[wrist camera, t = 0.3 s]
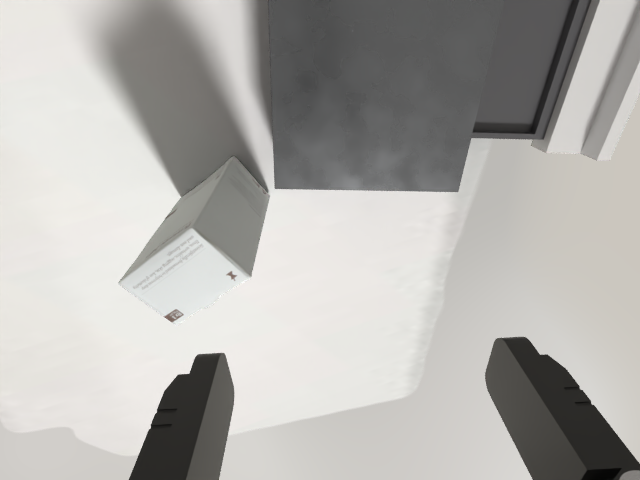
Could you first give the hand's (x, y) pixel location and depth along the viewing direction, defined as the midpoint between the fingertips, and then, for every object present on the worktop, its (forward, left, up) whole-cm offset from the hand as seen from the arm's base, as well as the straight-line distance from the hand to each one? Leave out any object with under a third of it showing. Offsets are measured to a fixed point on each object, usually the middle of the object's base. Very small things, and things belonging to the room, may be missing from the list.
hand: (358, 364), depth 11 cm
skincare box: (+7, -10, -28) cm, 31 cm away
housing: (-7, +4, -28) cm, 29 cm away
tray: (-7, +17, -28) cm, 33 cm away
